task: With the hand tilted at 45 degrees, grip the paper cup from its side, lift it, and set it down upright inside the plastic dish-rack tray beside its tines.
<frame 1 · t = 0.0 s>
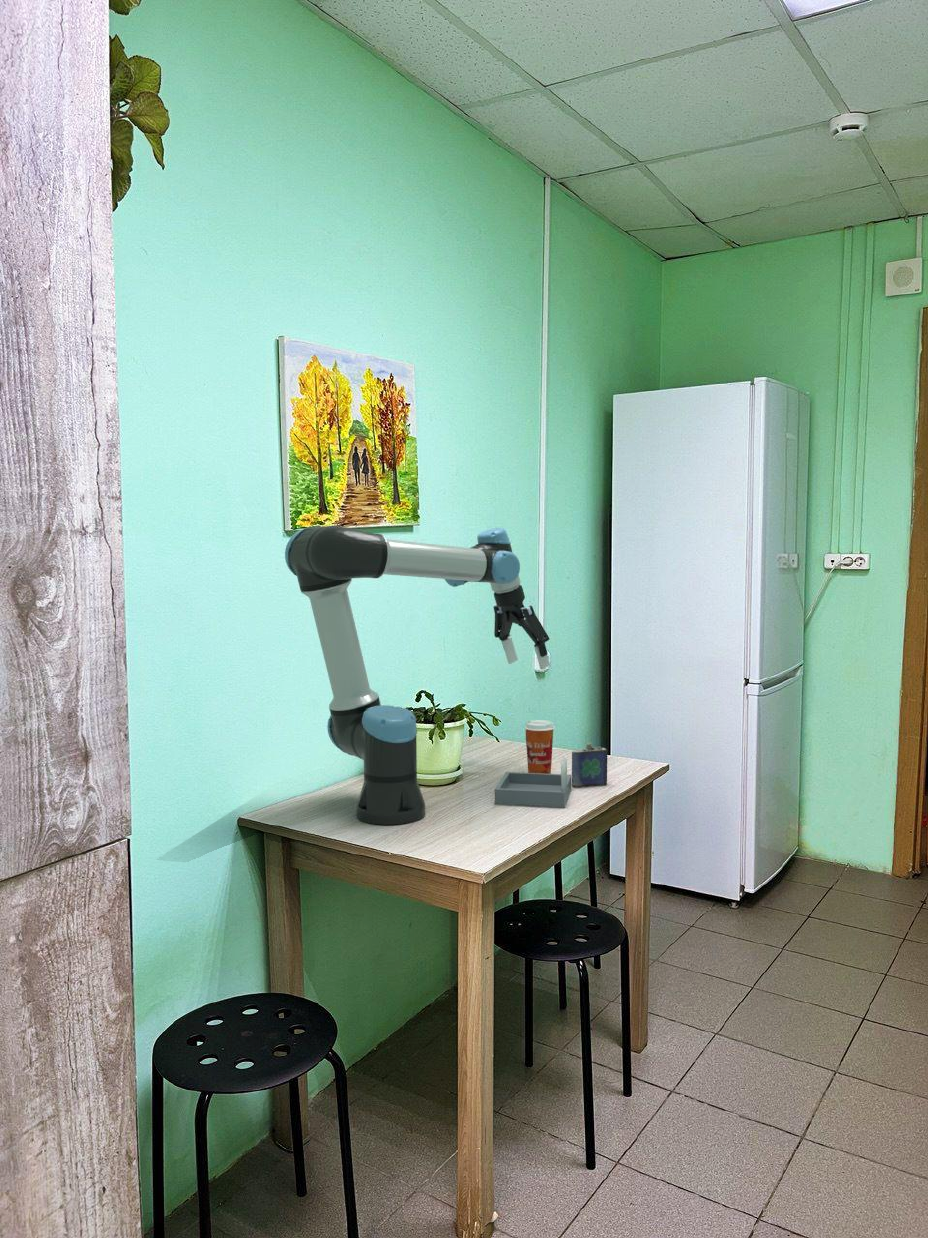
hand: (528, 664, 237), 28 cm above the table, tool tilted 20°, fingers open, 13 cm apart
flask: (589, 786, 224), on the table
paper cup: (539, 777, 233), on the table
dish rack: (534, 796, 215), on the table
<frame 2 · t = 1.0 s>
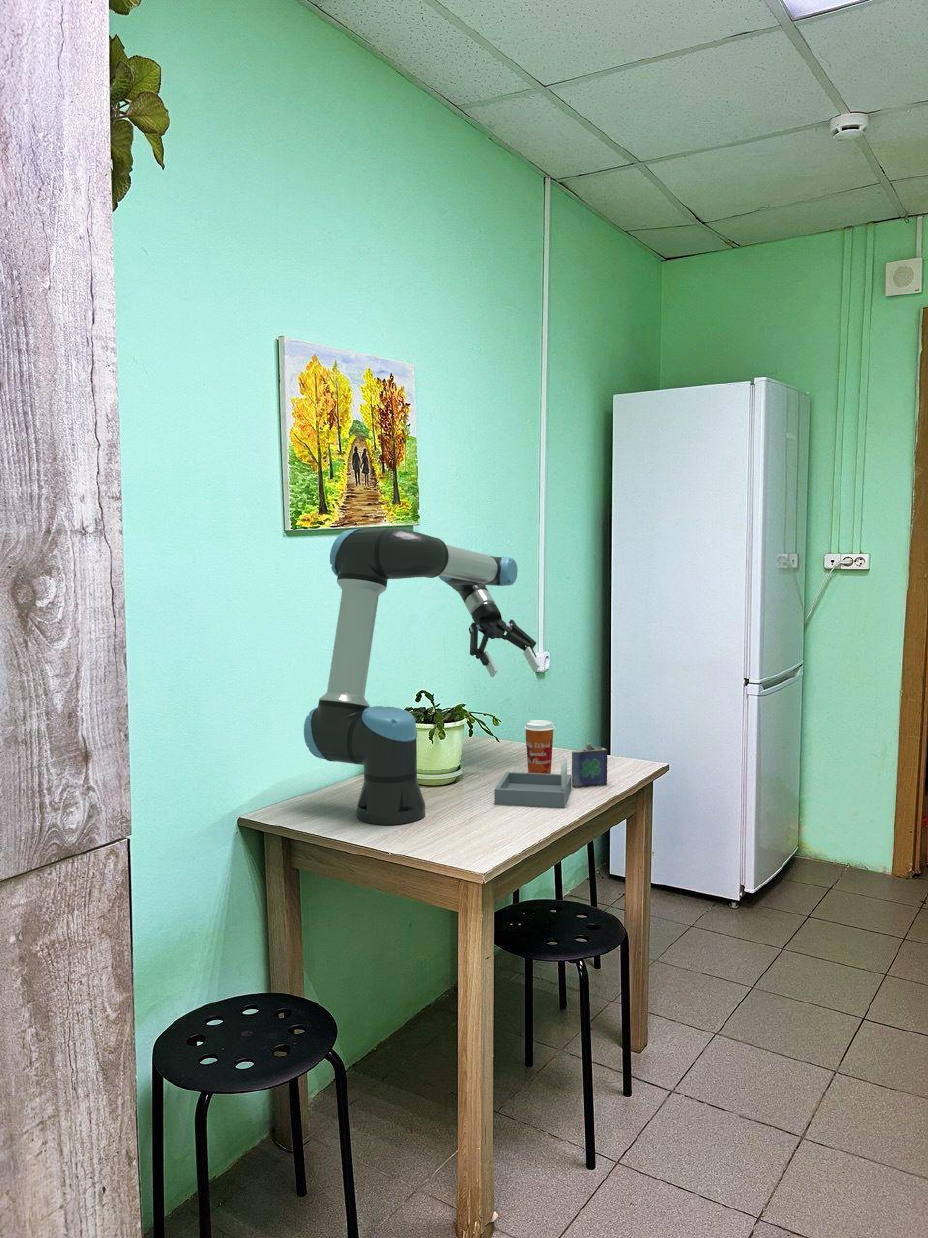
hand: (516, 671, 239), 26 cm above the table, tool tilted 45°, fingers open, 13 cm apart
nothing on the table moved.
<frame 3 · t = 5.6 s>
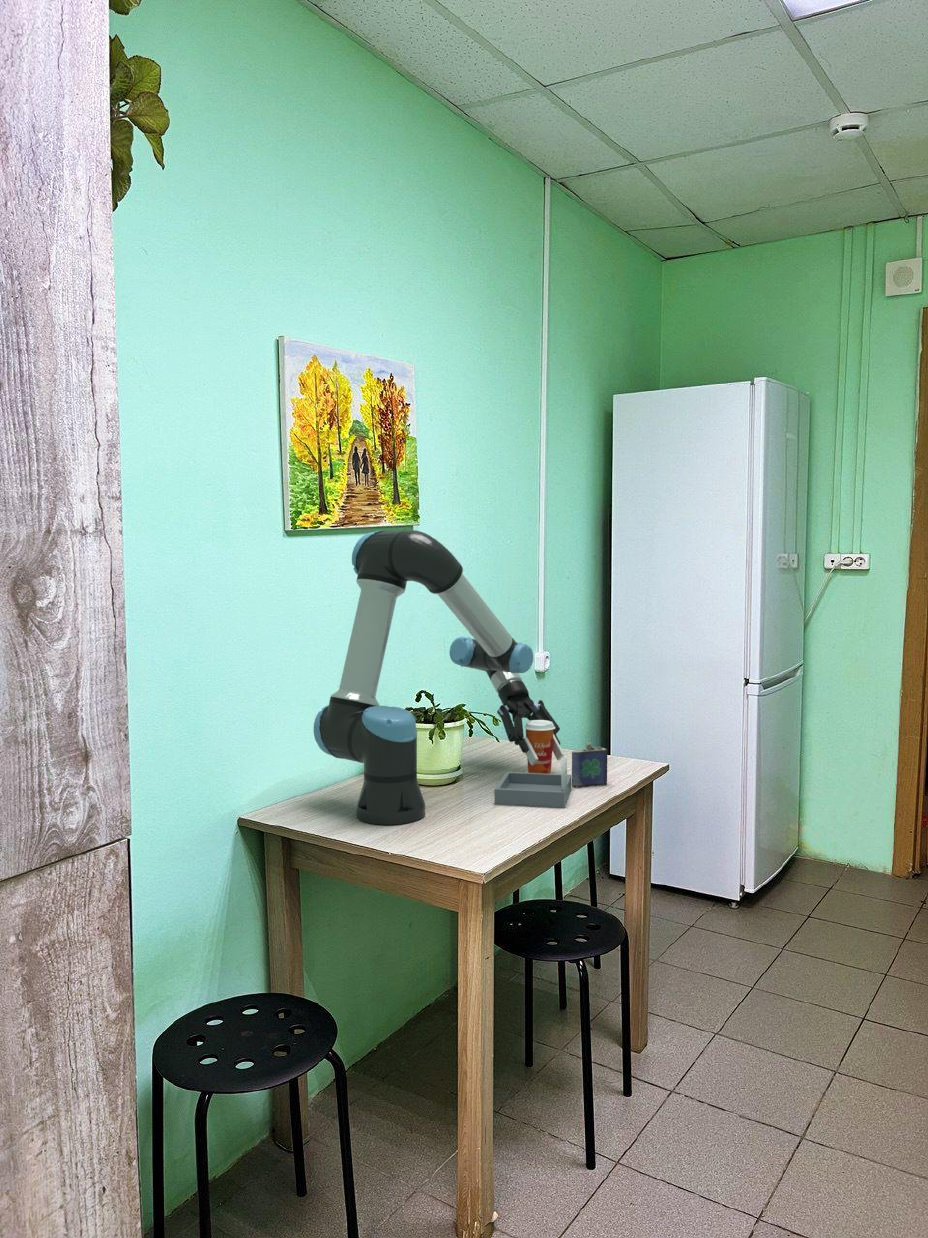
hand: (548, 759, 230), 5 cm above the table, tool tilted 45°, fingers closed on paper cup, 8 cm apart
paper cup: (539, 777, 233), on the table, touching gripper
everything else where it was.
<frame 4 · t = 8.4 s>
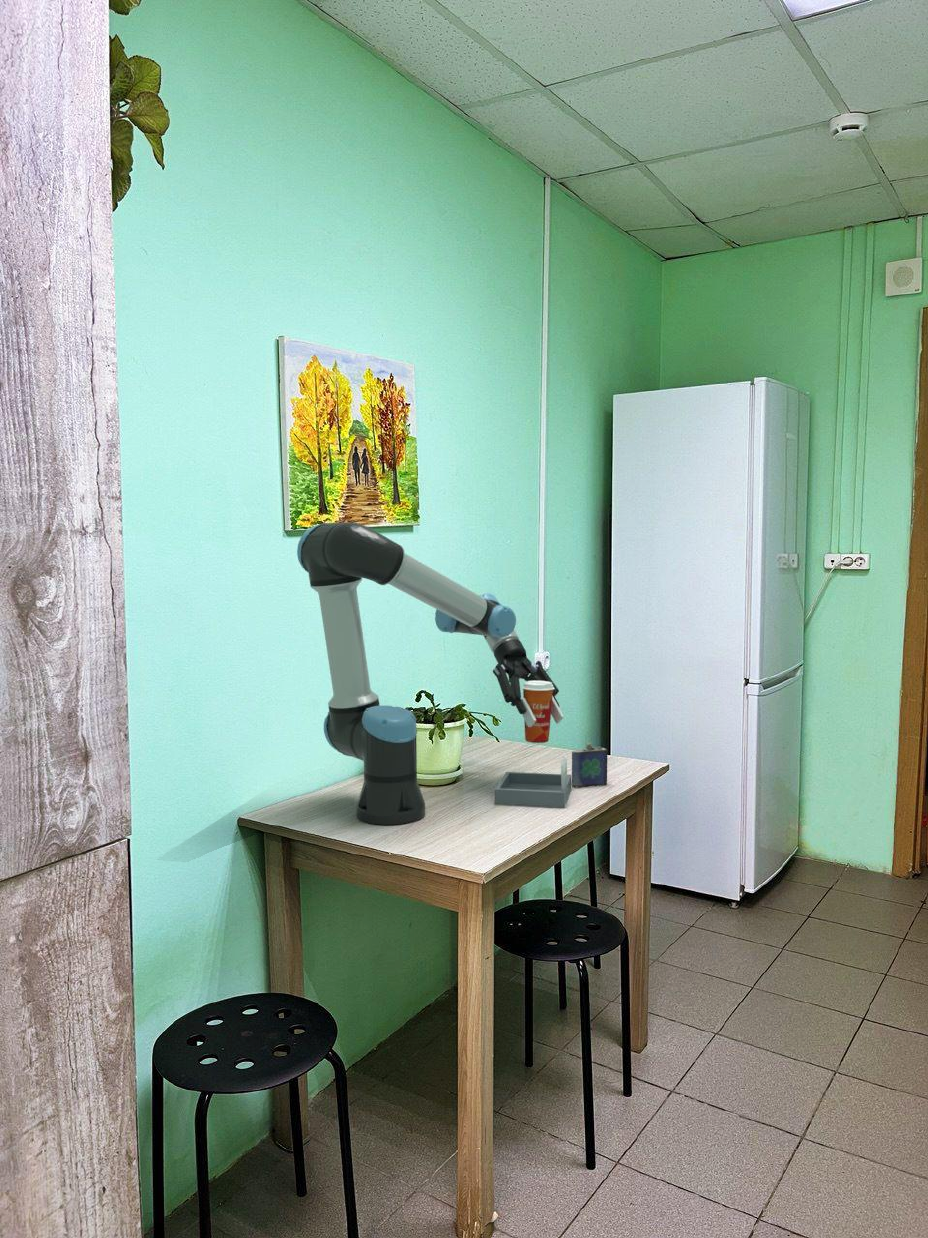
hand: (546, 721, 215), 17 cm above the table, tool tilted 45°, fingers closed on paper cup, 8 cm apart
paper cup: (537, 741, 219), point 12 cm above the table, touching gripper
everything else where it was.
when the fingers open (8 cm above the table, at t = 11.1 s): paper cup drops 1 cm, resting on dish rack.
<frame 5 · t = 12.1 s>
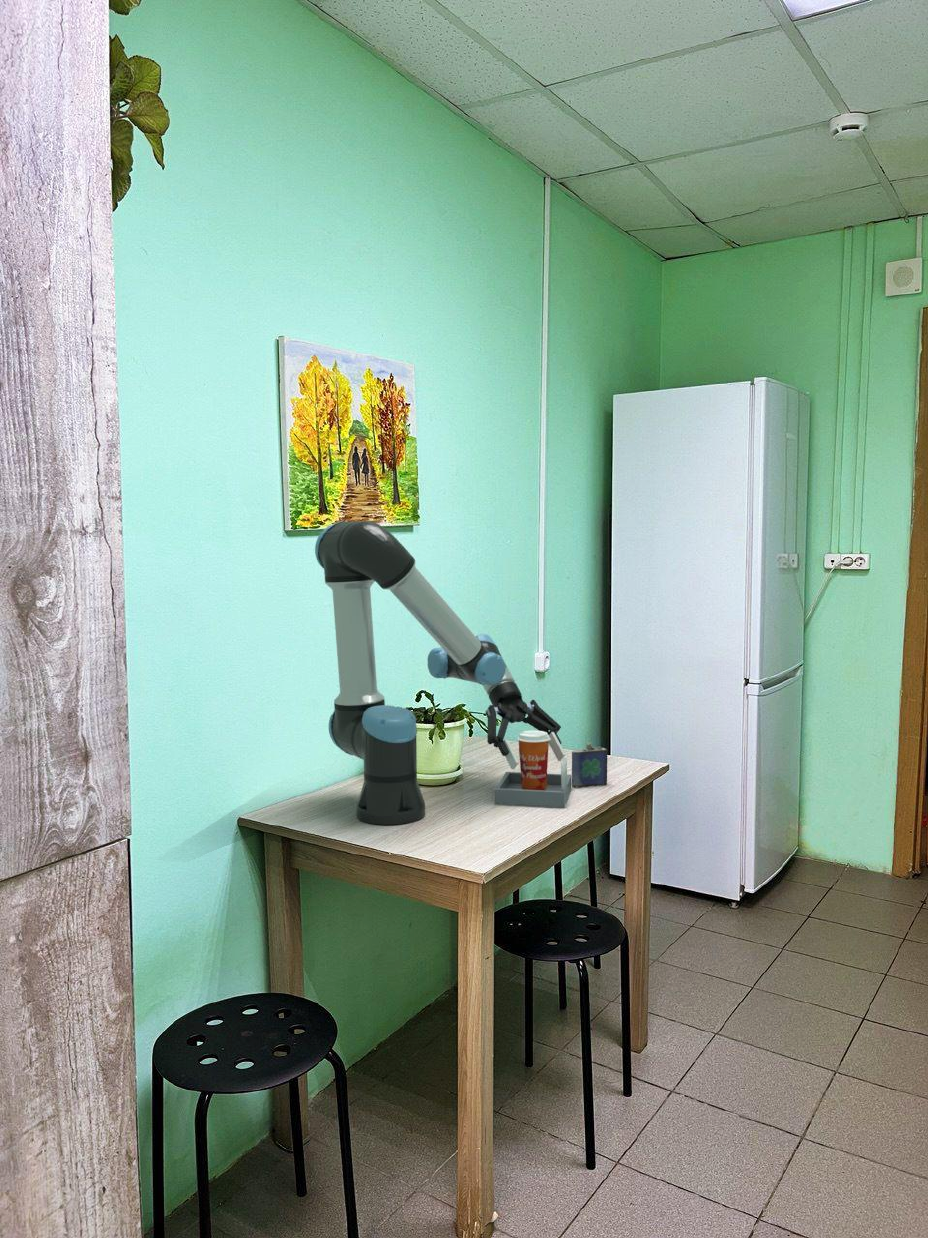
hand: (539, 762, 213), 9 cm above the table, tool tilted 45°, fingers open, 13 cm apart
paper cup: (534, 792, 215), point 1 cm above the table, touching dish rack
everything else where it was.
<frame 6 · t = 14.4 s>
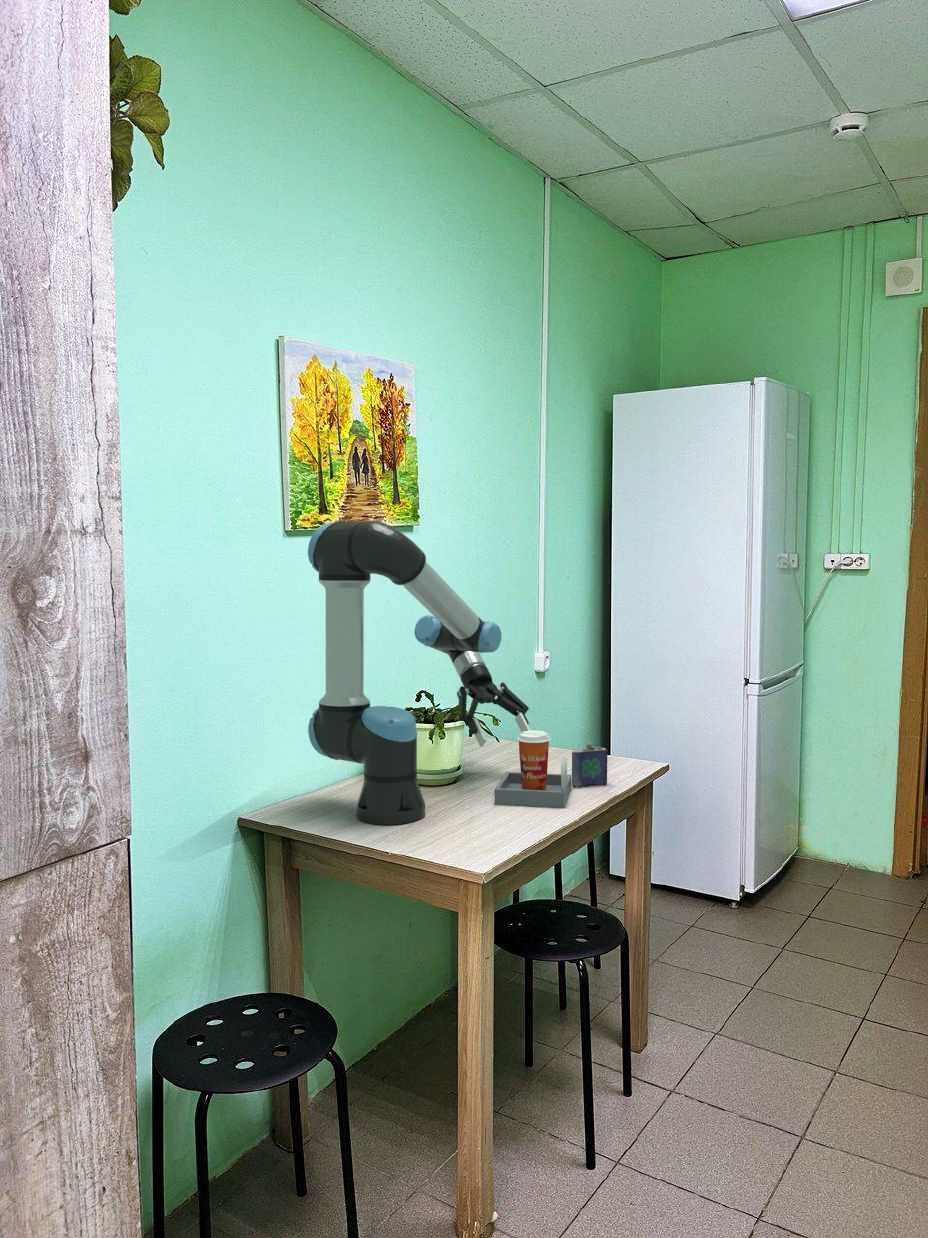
hand: (506, 740, 224), 11 cm above the table, tool tilted 45°, fingers open, 13 cm apart
nothing on the table moved.
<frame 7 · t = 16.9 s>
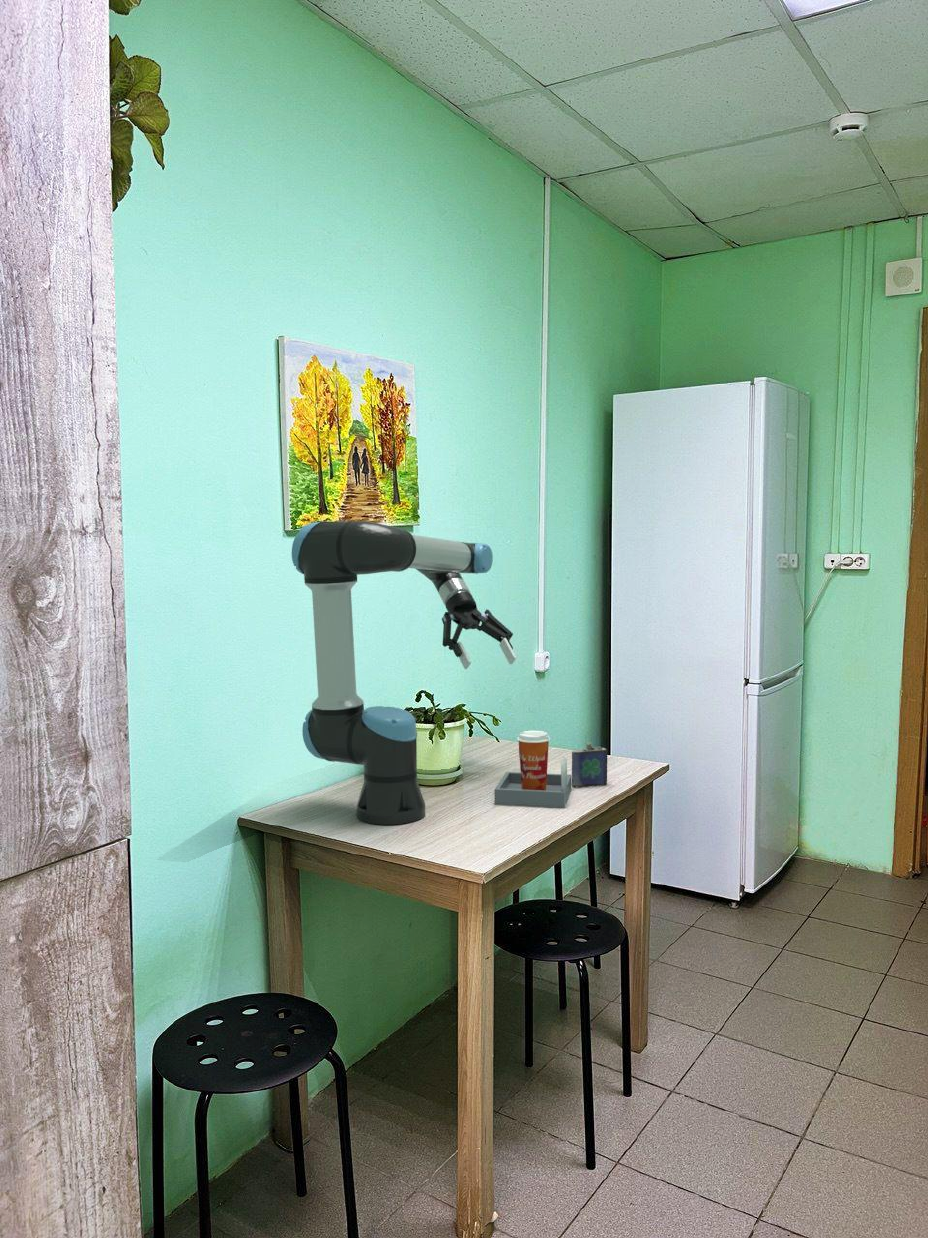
hand: (491, 663, 227), 30 cm above the table, tool tilted 45°, fingers open, 13 cm apart
nothing on the table moved.
at the end: paper cup inside the target area on the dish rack (0.1 cm from its centre), point 0.8 cm above the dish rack's base; paper cup tilted 0°; the gripper is holding nothing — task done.
